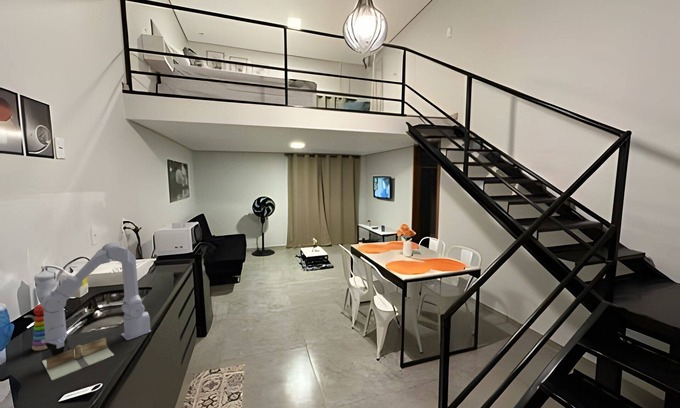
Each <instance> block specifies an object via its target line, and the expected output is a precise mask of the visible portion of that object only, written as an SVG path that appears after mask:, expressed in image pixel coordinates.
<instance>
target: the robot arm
mask: <svg viewBox="0 0 680 408" xmlns="http://www.w3.org/2000/svg"><path fill="white" fill-rule="evenodd" d="M111 261H115V262H119V263H120V264H121V271H122V281H123V292H124V293H123V294H124V297H123V299H122V304H121V307H120V310H121V311H122V312H123V314H124V315H123V327H124V328H123V329H124V330H123V331H124V332H123V333H121V334H120V335H121V337H123V338H124V339H125V340H126V341H130V340H133V339H135V338H138V337H140V336H143V335H145V334H148V333H151V332H152V330H151V319H150V318H151V317H150V315H149V312H148V311H145V310H146V307H145V305H144V304H143V300H142V298H141V296H140V294H139V283H138V269H137V259H136V256H134V254H133V253H132V252H131V251H130V250H129V249H128V248H127V247H124V246H122V245H118V244H116V243H111V242H110V243H107V244H105V245H103V246H102V247H101V248H100V249H98V250H97V251H96V252H95V254H94V255H93V256H91V258H90V259H89V260H88V261H87V262H86V263H85V265H83V266H82V268H80V269H79V271H77V273H76V274H75V275H73V276H68V277H67V278H64V279H62V280H61V283H60V284H59V285H58V286H57V287H56V288H55V289H54V290H53V291H52V290H51V291H50V292H49V295H46V296H45V297H44V298H42V300H41V302H40V304H41V306H42V307H43V308H44V328H45V339H43V340H41V343H45V342H47V343H46V346H47V350H49V351H50V353H51V357H52V356H54V355H57V354H60V353H63V352H65V348H66V345H67V344H68V338H67V337H68V332H67V325H66V312H65V307H66V306H67V301H68V300H69V299H70V298H71V297H72V296H74V295H75V293H76V292H77V291H78V290H79V289H81V287H82V286H83V284H84V283H83V281H84V280H85V279H86V278H87V277H89V275H90V274H91V273H93V272H94V271H95V270H96V269H97V268H98V267H99V266H100V265H104V264H109V263H111Z"/></svg>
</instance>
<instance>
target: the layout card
mask: <svg viewBox="0 0 680 408" xmlns="http://www.w3.org/2000/svg"><path fill="white" fill-rule="evenodd" d="M81 348H82V346H81ZM73 349H74V356H75V348H73ZM111 356H112V357H113V356H115V354H114V353H113V352H112V351H111V350H110V347H109V345H107V348H105V349H102V350H99V351H97V352H94V353H92V354H89V355H86V356H84V357H83V353H82V358H80V359H74V360H71V361H68V362H66V363H63V364H61V365H58V366H55V367H53V368H50V369H47V361H46V359H44V360H42V361H41V362H42V364H43V366H44V368H45V370H46V372H47V374H48V377H49V378H50V381H55V380H58V379H59V378H62V377H65V376H68V375H69V374H72V373H75V372H76V371H80V370H81V369H84V368H86V367H89V366H91V365H94V364H97V363H99V362H102V361H104V360H106V359H109V358H111Z"/></svg>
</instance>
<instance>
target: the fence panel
mask: <svg viewBox="0 0 680 408" xmlns="http://www.w3.org/2000/svg"><path fill="white" fill-rule="evenodd" d="M74 349H75V348H72V349H69V350H66V351H63V353H60V354H57V355H54V356H52V355H51V356H49V357H46V359H45V360H46V361H47V369H50V368H53V367H55V366H58V365H61V364H63V363H66V362H68V361H71V360H74V359H75V356H74Z"/></svg>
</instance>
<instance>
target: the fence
mask: <svg viewBox="0 0 680 408" xmlns="http://www.w3.org/2000/svg"><path fill="white" fill-rule="evenodd" d="M107 346H108V345H107V337H102V338H99V339H96V340H94V341H92V342H88V343H85V344H84V345H81V344H78V345H75V346H74V349H75V359H80V358H82V353H83V357H84V356H86V355H89V354H92V353H94V352H97V351H99V350H102V349H105V348H107ZM81 347H82V348H81Z"/></svg>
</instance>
